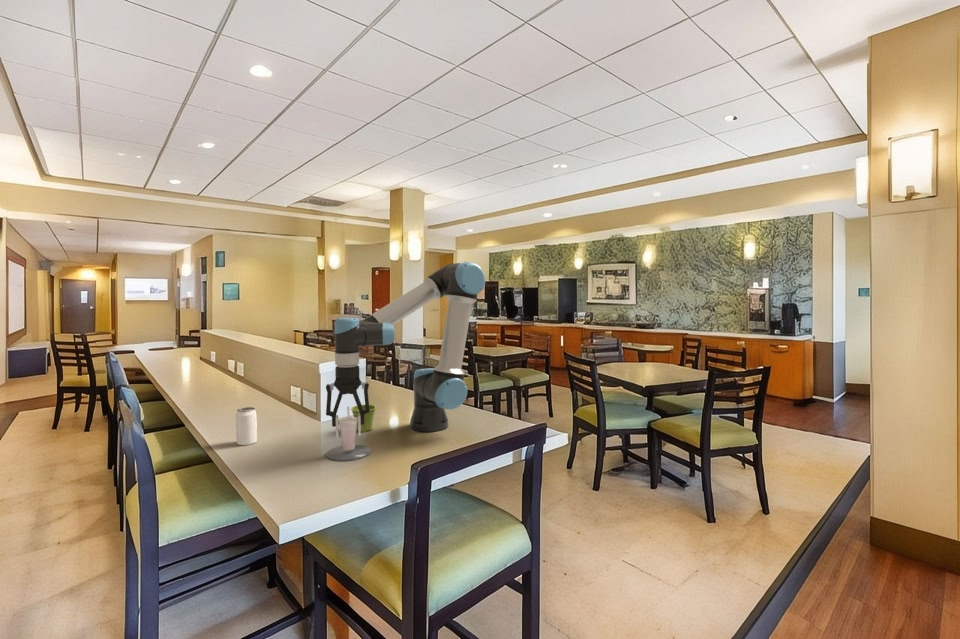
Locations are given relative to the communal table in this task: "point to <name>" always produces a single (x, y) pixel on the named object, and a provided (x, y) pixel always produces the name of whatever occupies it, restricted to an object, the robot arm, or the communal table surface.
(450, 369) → the robot arm
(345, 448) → the smoothie
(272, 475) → the communal table surface
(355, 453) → the disc
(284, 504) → the communal table surface
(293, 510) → the communal table surface
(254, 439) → the can
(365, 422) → the plant pot
